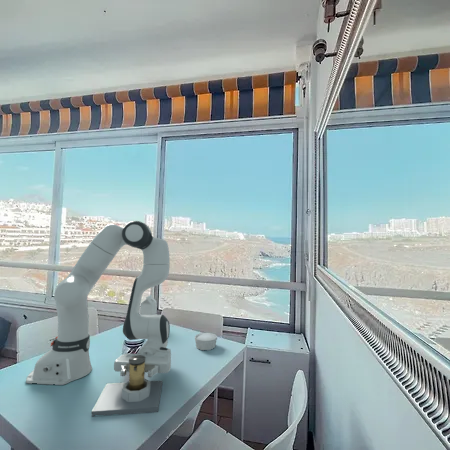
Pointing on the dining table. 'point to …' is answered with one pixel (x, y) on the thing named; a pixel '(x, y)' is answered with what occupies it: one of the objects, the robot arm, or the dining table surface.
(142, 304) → the milk carton
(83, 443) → the dining table surface
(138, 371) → the cylinder
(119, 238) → the robot arm
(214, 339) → the ramekin
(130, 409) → the socket base
